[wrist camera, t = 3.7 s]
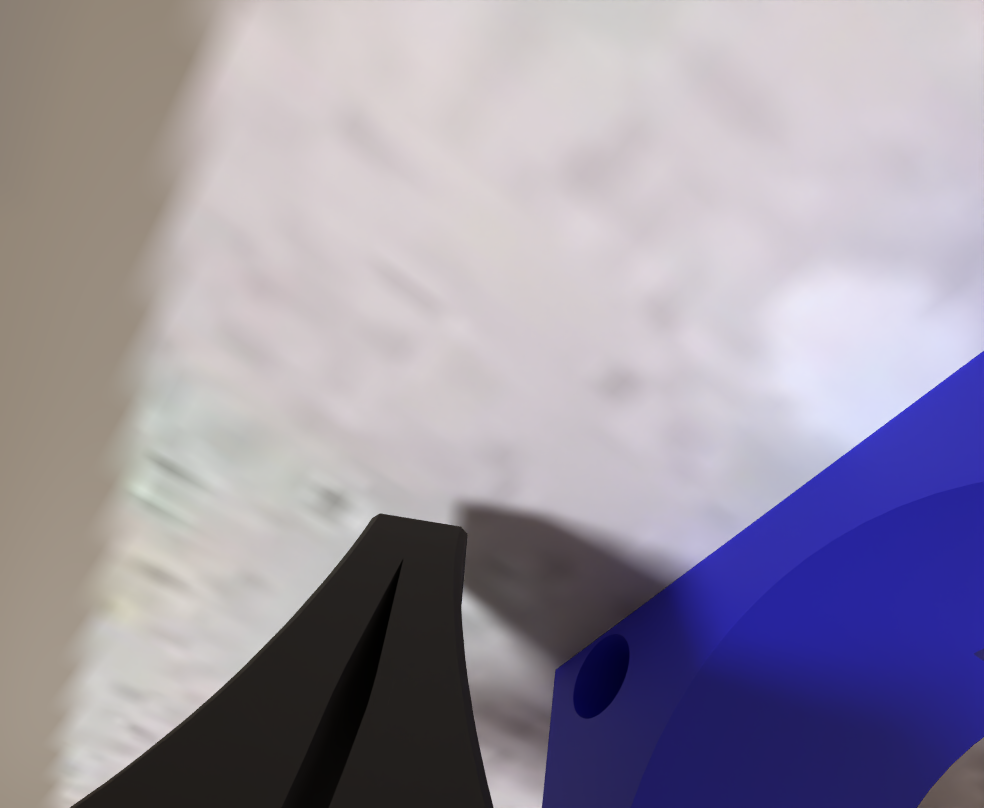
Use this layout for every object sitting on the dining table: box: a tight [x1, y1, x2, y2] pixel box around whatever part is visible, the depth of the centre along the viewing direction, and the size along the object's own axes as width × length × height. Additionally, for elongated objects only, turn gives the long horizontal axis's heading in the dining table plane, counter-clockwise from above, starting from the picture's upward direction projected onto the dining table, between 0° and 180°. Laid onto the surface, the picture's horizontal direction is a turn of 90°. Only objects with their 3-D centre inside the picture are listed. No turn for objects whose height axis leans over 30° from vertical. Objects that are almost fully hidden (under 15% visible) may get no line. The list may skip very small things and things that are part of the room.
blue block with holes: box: [542, 351, 984, 808], centre depth 10 cm, size 12×4×6 cm, turn 146°
